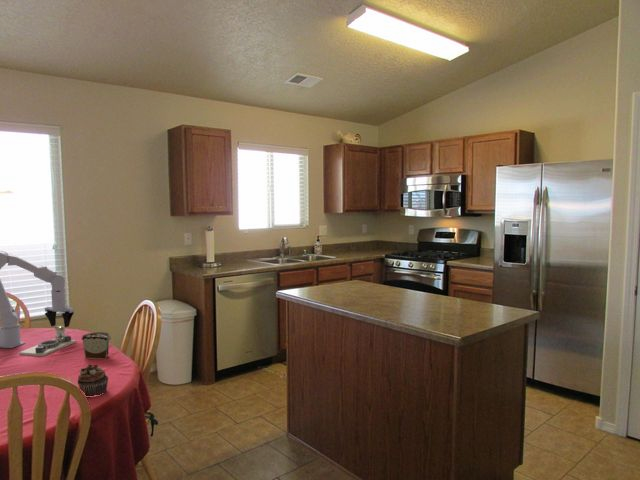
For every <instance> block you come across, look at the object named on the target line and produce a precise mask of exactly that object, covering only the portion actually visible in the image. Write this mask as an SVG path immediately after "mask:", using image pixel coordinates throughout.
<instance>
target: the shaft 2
mask: <svg viewBox="0 0 640 480" xmlns="http://www.w3.org/2000/svg"><path fill="white" fill-rule="evenodd" d="M57 340H58V341H59V343H62V342H69V341H71V340H72V336H71V335H65V336H63V338H58V339H57Z"/></svg>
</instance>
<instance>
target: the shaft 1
mask: <svg viewBox="0 0 640 480" xmlns="http://www.w3.org/2000/svg"><path fill="white" fill-rule="evenodd" d="M35 349H36V353H43V352H44V351H45V349H47V345H46V344H43V345H41V346H40V347H36V348H35Z"/></svg>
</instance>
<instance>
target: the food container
mask: <svg viewBox="0 0 640 480" xmlns="http://www.w3.org/2000/svg"><path fill="white" fill-rule="evenodd" d="M111 337H112V336H111V334H110V333H109V332H106V331H96V332H94V331H93V332H89V333H84V334H82V335H81V341H82V344H83V351H84V358H85V359H93V360H95V359H98V360H107V359H108V357H109V346H110V341H111V339H112V338H111Z"/></svg>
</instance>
